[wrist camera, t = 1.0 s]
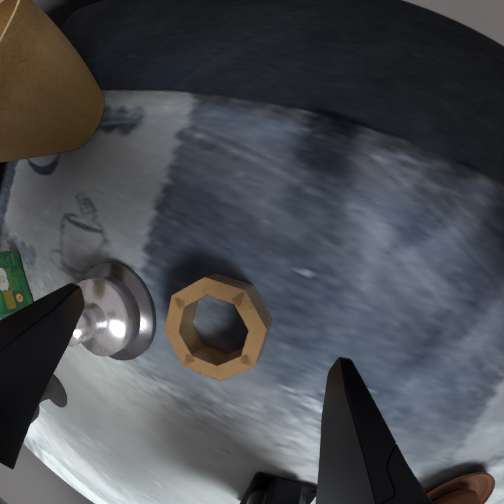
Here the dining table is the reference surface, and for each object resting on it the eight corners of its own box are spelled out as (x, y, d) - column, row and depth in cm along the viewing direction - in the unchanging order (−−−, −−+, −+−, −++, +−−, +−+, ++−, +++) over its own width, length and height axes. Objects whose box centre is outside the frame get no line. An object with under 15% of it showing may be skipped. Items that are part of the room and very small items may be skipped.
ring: (254, 376, 22) (246, 390, 19) (174, 345, 23) (159, 355, 21) (280, 293, 21) (275, 300, 19) (192, 265, 22) (178, 267, 20)
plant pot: (27, 153, 27) (-73, 131, 12) (88, 50, 25) (-1, -6, 9) (81, 214, 25) (-66, 204, 9) (163, 80, 23) (44, -19, 7)
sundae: (36, 356, 28) (-54, 389, 13) (69, 381, 27) (-28, 429, 12) (41, 396, 29) (-37, 434, 14) (73, 421, 27) (-8, 472, 13)
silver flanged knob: (148, 373, 24) (105, 404, 18) (78, 334, 26) (33, 350, 19) (165, 281, 23) (115, 294, 17) (88, 250, 25) (36, 252, 19)
